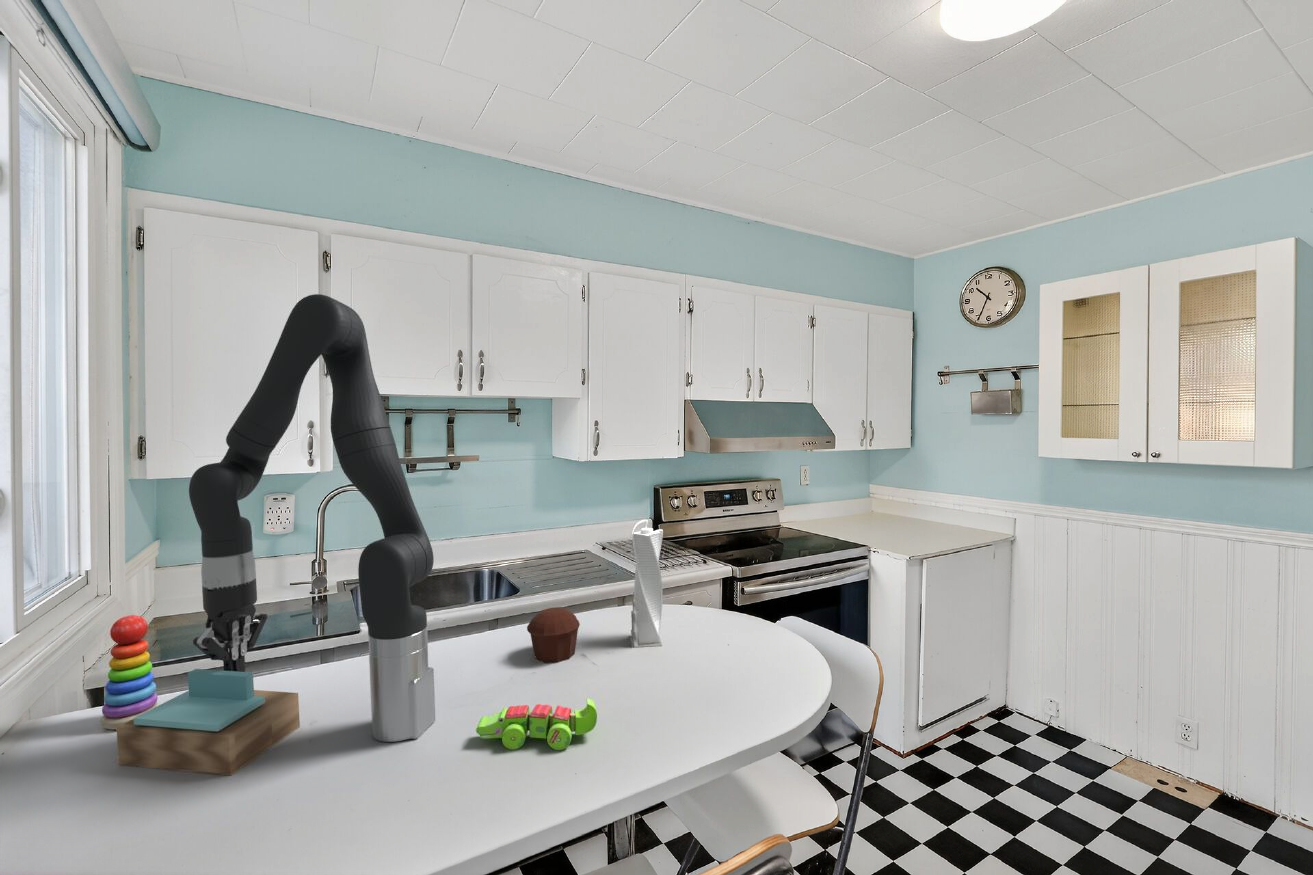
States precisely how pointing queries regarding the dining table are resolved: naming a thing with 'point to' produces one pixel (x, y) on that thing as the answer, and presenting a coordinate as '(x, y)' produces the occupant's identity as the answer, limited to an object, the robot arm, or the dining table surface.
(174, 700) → the sliding lid
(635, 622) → the skyscraper
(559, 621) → the muffin
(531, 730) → the toy crocodile
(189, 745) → the wooden box
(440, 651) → the dining table surface
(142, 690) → the stacking toy
